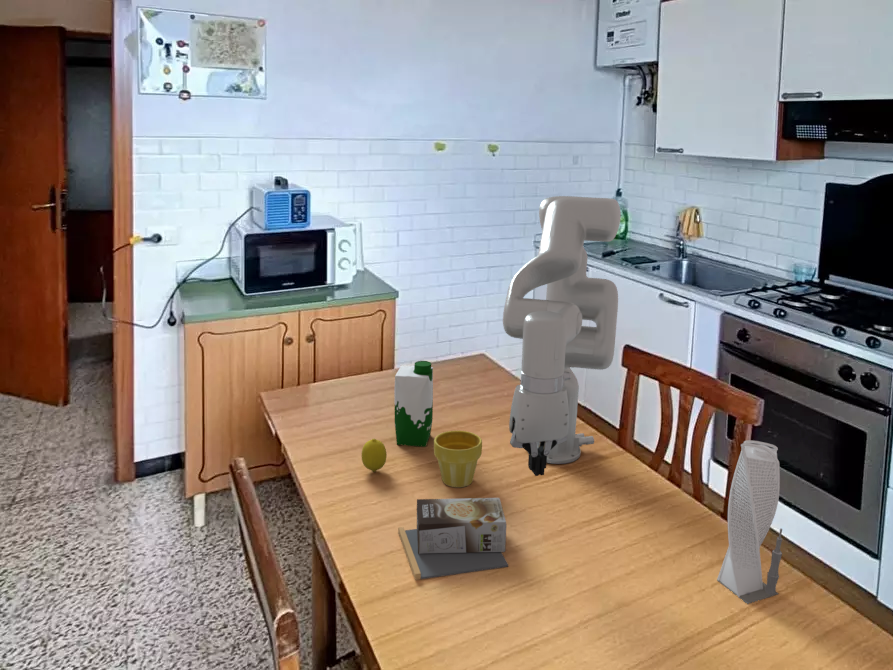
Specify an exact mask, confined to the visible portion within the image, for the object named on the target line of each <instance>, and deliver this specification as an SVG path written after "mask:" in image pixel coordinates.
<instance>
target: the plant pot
mask: <svg viewBox="0 0 893 670" xmlns="http://www.w3.org/2000/svg"><path fill="white" fill-rule="evenodd" d="M482 451H483V440H482V437H480V436H479V435H478V434H476V433H474V432H471V431H466V430H448V431H443V432H440V433H439V434H437V435H436V436H435V437H434V439H433V454H434V457H435V458H436V459H437V462H438V467H439V472H440V475H441V480H442V482H443V484H445V485H446V486H449V487H451V488H465V487H469V486H470V485H472V483H473V480H474V476H475V473H476V469H477V464H478V460H479V459H480V458H481V457H482Z"/></svg>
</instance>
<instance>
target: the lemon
mask: <svg viewBox="0 0 893 670" xmlns="http://www.w3.org/2000/svg"><path fill="white" fill-rule="evenodd" d="M387 456H388V455H387V449H386V446H385V444H384V443H383V442H382V441H381V440H379V439H376V438H372V439H369V440H367V441H366V442H365V443H364V444H363V446H362V449H361V461H362V464H363V466H364V468H366V469H368V470H369V471H371V472H375V473H376V472H377V471H379V470H380V469H382V468H383V467H384V466H385V464H386V462H387Z"/></svg>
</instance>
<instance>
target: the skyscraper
mask: <svg viewBox="0 0 893 670" xmlns="http://www.w3.org/2000/svg"><path fill="white" fill-rule="evenodd" d="M740 447H741V449H740V450H741V451H740V454H739V456H738V460H737V463H736V466H735V470H734V471H733V472H734V473H733V477H732V481H731V485H730V490H729V496H728V497H729V498H728V504H727V505H728V506H727V537H728V547H727V550H726V553H725V556H724V559H723V561H722V564H721V567H720V570H719V573H718V575H717V578H716V581H717V582H719V584H721V585H722V586H724V588H726V589H727V590H728V589H729V590H728V591H730V592H731V591H732V592H733V593H732V592H731V593H732V594H734V595H735V596H736V595H737V596H738V599H740V600H741V599H742V600H743V601H742V600H741V601H742V602H744V603H745V604H746V603H747V604H746V605H750V604H753V603H756V602H758V600H759V601H762V600H765V599H768V598H771V597H774V596H776V595H777V596H778V595H779V592H777V588H776V587H777V585H778V581H779V577H780V575H779V567H780V564H781V563H780V562H781V559H782V556H783V552H782V551H781V547H782V546H781V545H782V542H783V538H782V533H783V528H779V533H778V536H777V537H776V545H775V549H772V551H771V559H770V567H769V570H768V572H767V575H766V576H767V577H766V579H767V580H766V583H765V582H764V581H763V572H762V562H761V561H762V560H761V550H760V549H761V546H762V544H763V542H764V541H765V538H766V536H767V535H768V533H769V530H770V529H771V526H772V524H773V521H774V519H775V516H776V512H777V509H778V505H779V498H780V485H781V483H780V482H781V476H780V475H781V474H780V473H781V471H780V461H779V459H778V453H777V452H778V450H779V449H778V447H777V446H776V445H775V444H772V443H768V442H763V441H759V440H750V439H748V440H744V441H743V443H740ZM737 596H736V597H737ZM755 601H756V602H755ZM752 602H753V603H752ZM749 603H750V604H749Z"/></svg>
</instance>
